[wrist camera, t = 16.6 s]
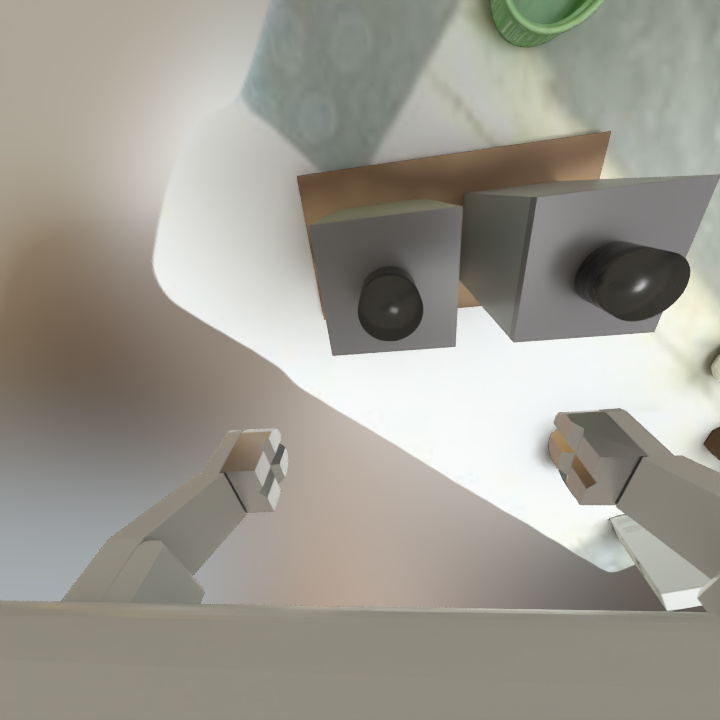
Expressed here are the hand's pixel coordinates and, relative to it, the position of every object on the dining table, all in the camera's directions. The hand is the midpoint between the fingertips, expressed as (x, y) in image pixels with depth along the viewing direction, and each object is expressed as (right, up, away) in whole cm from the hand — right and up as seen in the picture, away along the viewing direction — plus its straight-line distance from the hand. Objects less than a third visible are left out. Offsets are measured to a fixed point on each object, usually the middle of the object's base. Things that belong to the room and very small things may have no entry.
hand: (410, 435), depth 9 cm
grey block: (+14, +16, +23) cm, 31 cm away
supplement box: (+53, -30, +50) cm, 78 cm away
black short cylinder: (+14, +16, +23) cm, 32 cm away
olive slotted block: (+1, +15, +25) cm, 29 cm away
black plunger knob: (+1, +15, +24) cm, 29 cm away
